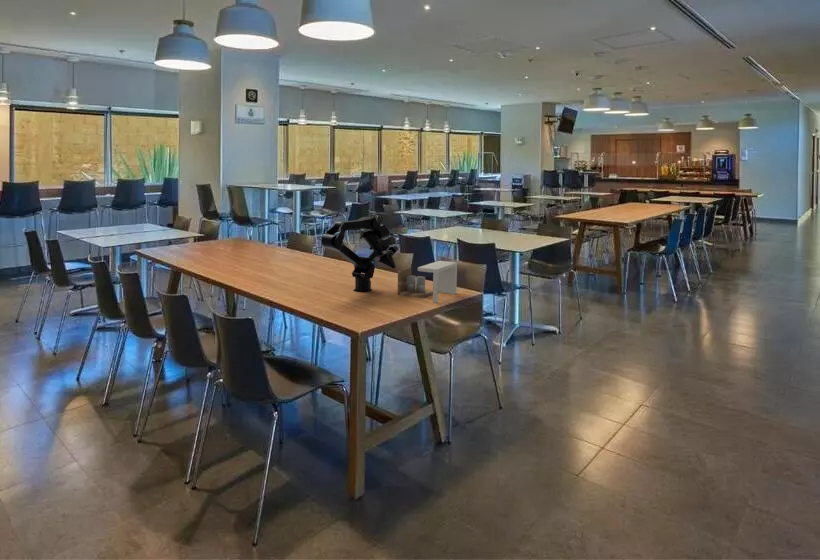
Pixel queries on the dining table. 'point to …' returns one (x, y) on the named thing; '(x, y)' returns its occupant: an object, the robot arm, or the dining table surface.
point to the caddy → (411, 284)
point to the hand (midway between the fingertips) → (394, 267)
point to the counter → (442, 277)
